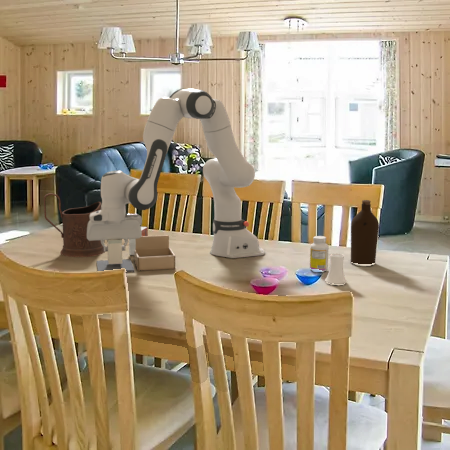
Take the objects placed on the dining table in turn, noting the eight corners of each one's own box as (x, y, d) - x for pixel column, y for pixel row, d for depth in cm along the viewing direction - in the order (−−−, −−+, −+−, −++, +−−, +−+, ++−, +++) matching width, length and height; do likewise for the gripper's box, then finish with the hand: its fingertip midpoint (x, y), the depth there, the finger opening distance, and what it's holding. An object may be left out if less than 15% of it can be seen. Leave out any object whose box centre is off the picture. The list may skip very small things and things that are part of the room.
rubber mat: (130, 261, 239) (130, 259, 238) (134, 272, 223) (134, 269, 223) (96, 262, 236) (96, 260, 235) (98, 273, 220) (98, 271, 220)
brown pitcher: (109, 254, 248) (108, 194, 243) (48, 260, 239) (45, 197, 234) (101, 245, 265) (99, 188, 260) (44, 249, 256) (41, 190, 251)
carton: (170, 259, 241) (170, 235, 239) (175, 268, 228) (175, 242, 226) (134, 261, 237) (134, 236, 235) (138, 270, 225) (137, 244, 223)
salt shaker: (347, 280, 215) (348, 253, 213) (345, 286, 208) (347, 258, 206) (325, 279, 217) (327, 251, 215) (323, 285, 210) (325, 257, 208)
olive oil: (381, 266, 235) (385, 202, 230) (357, 268, 232) (360, 203, 227) (367, 259, 245) (371, 198, 240) (344, 261, 242) (347, 199, 237)
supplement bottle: (315, 267, 232) (316, 234, 230) (330, 270, 228) (332, 237, 226) (306, 270, 227) (307, 237, 225) (321, 274, 223) (323, 240, 220)
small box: (142, 256, 247) (141, 230, 245) (129, 255, 248) (128, 229, 246) (148, 251, 254) (148, 226, 252) (135, 250, 255) (135, 226, 253)
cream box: (121, 258, 233) (120, 235, 231) (122, 263, 226) (121, 239, 224) (107, 259, 232) (106, 236, 230) (108, 264, 225) (107, 240, 223)
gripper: (140, 212, 231) (141, 247, 234) (85, 214, 226) (87, 250, 229) (142, 215, 225) (143, 251, 228) (86, 217, 220) (87, 254, 223)
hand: (114, 250), depth 228 cm, fingers closed on cream box, 5 cm apart
